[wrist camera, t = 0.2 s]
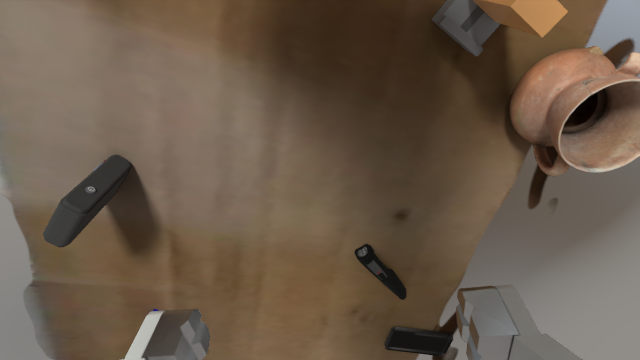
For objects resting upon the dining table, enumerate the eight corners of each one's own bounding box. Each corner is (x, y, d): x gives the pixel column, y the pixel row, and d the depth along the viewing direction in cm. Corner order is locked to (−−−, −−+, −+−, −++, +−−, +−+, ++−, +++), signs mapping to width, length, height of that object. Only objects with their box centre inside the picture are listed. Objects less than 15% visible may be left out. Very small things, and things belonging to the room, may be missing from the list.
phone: (443, 356, 89) (384, 349, 87) (442, 352, 90) (383, 345, 88) (455, 336, 85) (392, 328, 83) (453, 332, 86) (392, 324, 84)
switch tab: (495, 21, 47) (542, 37, 37) (468, -3, 46) (510, 6, 36) (513, 1, 46) (568, 11, 36) (487, -25, 45) (535, -22, 34)
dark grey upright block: (113, 149, 62) (57, 197, 49) (135, 162, 63) (86, 213, 50) (93, 184, 65) (36, 238, 52) (114, 196, 67) (63, 251, 54)
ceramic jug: (543, 21, 51) (612, 39, 38) (629, 53, 53) (721, 80, 40) (477, 134, 59) (516, 178, 47) (553, 158, 61) (609, 206, 49)
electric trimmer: (393, 292, 79) (396, 304, 76) (352, 250, 73) (354, 261, 70) (408, 284, 78) (411, 296, 75) (368, 241, 72) (370, 252, 69)
